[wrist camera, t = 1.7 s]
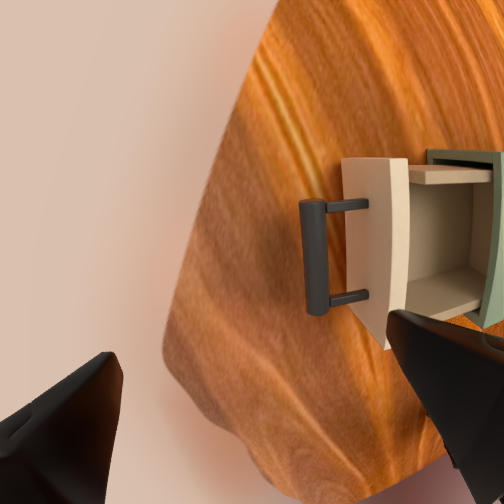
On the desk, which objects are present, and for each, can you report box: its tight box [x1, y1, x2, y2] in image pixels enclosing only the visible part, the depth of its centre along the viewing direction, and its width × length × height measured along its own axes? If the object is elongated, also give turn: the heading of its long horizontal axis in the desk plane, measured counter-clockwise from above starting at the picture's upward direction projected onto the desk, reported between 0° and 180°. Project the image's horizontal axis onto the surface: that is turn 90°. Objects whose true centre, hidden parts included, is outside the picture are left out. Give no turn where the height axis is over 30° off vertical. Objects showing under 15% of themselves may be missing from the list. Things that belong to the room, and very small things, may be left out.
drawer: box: [299, 158, 494, 350], centre depth 18 cm, size 18×11×7 cm, turn 97°
